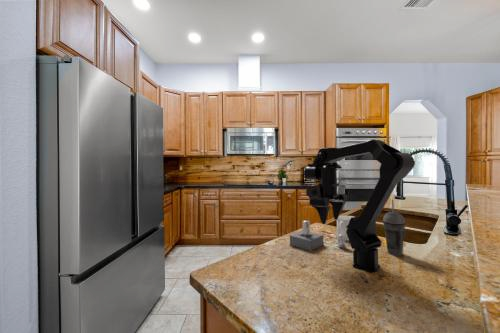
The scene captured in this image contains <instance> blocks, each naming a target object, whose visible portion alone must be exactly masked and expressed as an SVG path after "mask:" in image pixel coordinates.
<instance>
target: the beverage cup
mask: <svg viewBox="0 0 500 333" xmlns="http://www.w3.org/2000/svg"><path fill="white" fill-rule="evenodd" d="M391 210H392V211H388V212H386V213H385V214H384V215H383V219H382V223H383V224H382V225H383V228H384V235H385V243H386V249H387V253H388V254H389V255H391V256H396V257H397V256H398V257H399V256H403V247H404V238H405V237H404V236H405V235H404V232H405V228H406V220H405V218H404V216H403V215H402V214H401V212H397V211H395V204H394V199H393V198H392V199H391Z"/></svg>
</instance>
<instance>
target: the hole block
mask: <svg viewBox="0 0 500 333" xmlns="http://www.w3.org/2000/svg"><path fill="white" fill-rule="evenodd" d="M292 245H293V246H292ZM289 246H292V247H295V246H296V247H295V248H299V249H302V250H307V251H309V252H311V251H314V250H315V249H317V248H319V247H321V246H324V235H323V234H319V233H316V232H311V231H310V237H308V238H307V237H303V230H301V231H297V232H296V233H294V234H290V235H289Z"/></svg>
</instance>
